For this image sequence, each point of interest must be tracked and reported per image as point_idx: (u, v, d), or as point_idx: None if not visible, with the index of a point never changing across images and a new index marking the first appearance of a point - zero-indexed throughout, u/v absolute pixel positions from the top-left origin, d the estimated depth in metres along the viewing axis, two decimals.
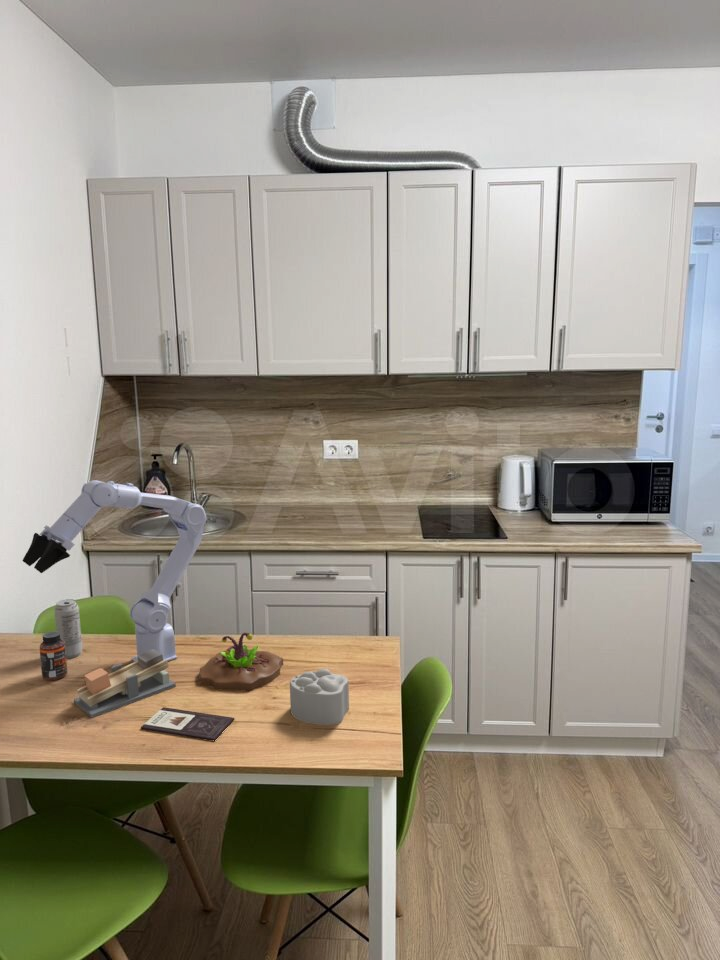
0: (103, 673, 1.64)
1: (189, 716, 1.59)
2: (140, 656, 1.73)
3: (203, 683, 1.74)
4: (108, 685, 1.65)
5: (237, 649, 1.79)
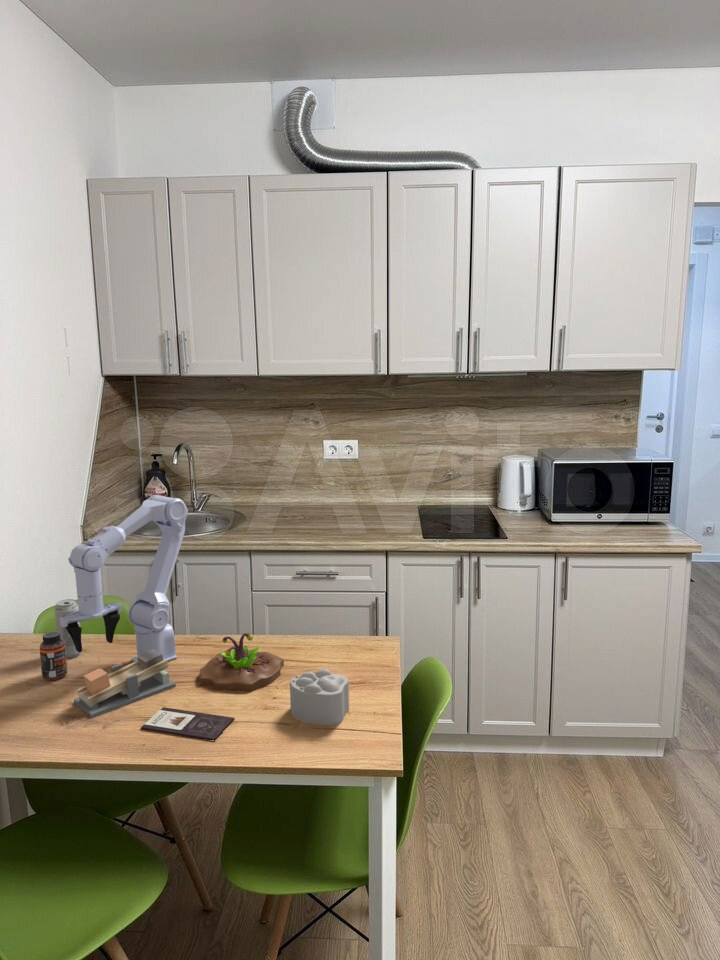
0: (102, 673, 1.64)
1: (189, 716, 1.59)
2: (140, 656, 1.73)
3: (203, 684, 1.74)
4: (107, 685, 1.65)
5: (237, 650, 1.78)
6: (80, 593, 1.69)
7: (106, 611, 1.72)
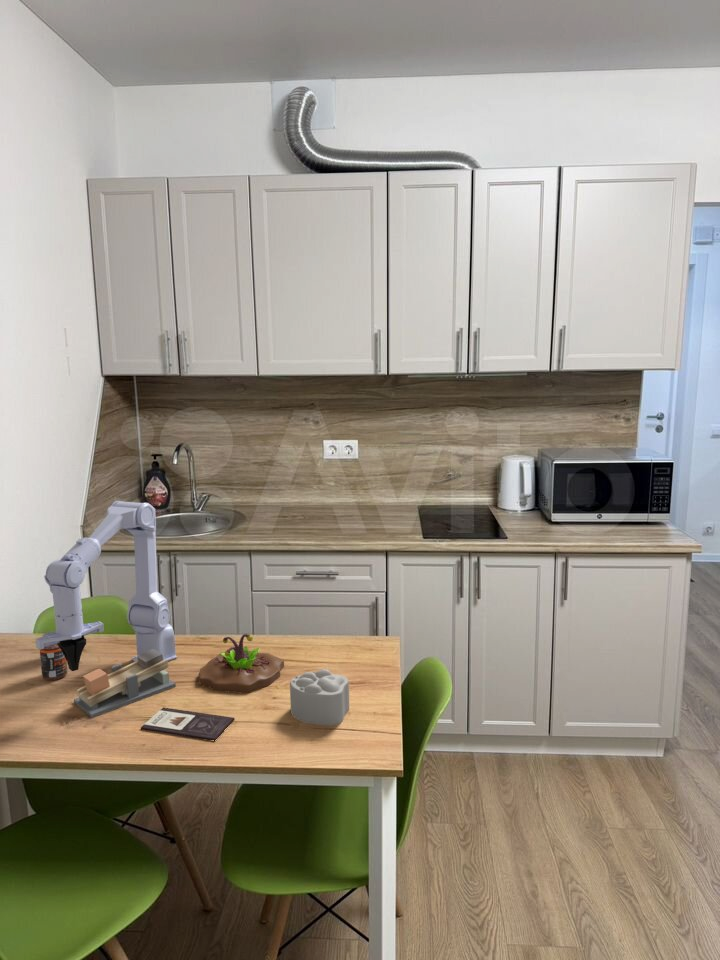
0: (102, 674, 1.64)
1: (189, 716, 1.58)
2: (140, 656, 1.73)
3: (202, 684, 1.74)
4: (107, 686, 1.64)
5: (237, 650, 1.78)
6: (60, 613, 1.56)
7: (86, 631, 1.60)
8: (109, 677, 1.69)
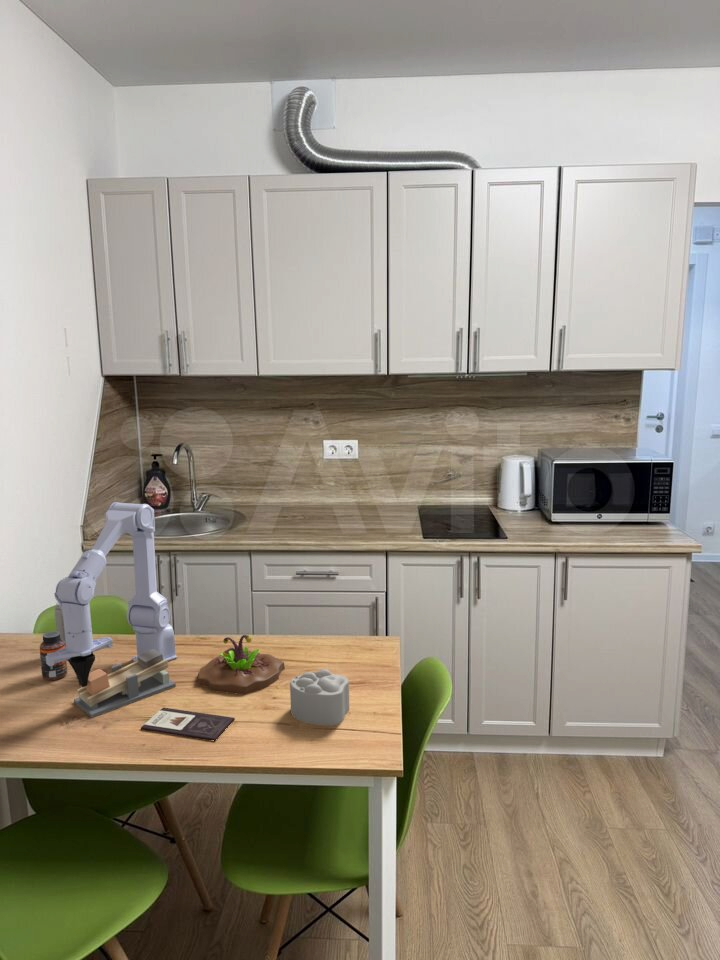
0: (102, 674, 1.64)
1: (189, 716, 1.58)
2: (140, 656, 1.73)
3: (200, 684, 1.74)
4: (107, 686, 1.64)
5: (236, 651, 1.77)
6: (71, 629, 1.57)
7: (95, 648, 1.61)
8: (109, 677, 1.69)
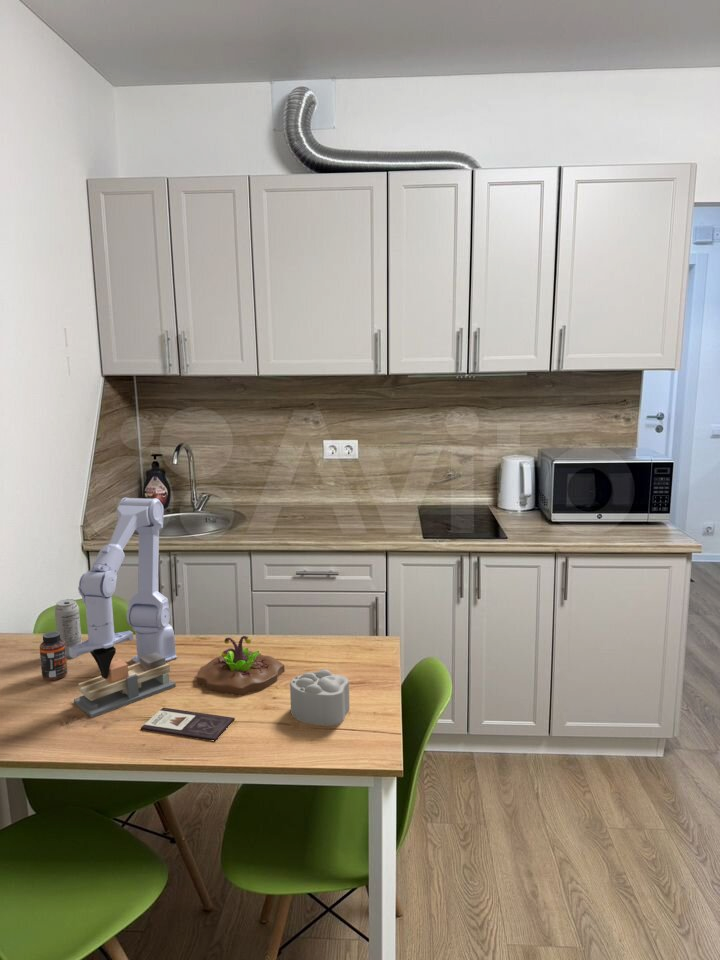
0: (123, 664, 1.67)
1: (189, 716, 1.58)
2: (143, 658, 1.74)
3: (199, 683, 1.74)
4: None
5: (236, 652, 1.77)
6: (95, 622, 1.60)
7: (117, 640, 1.64)
8: None
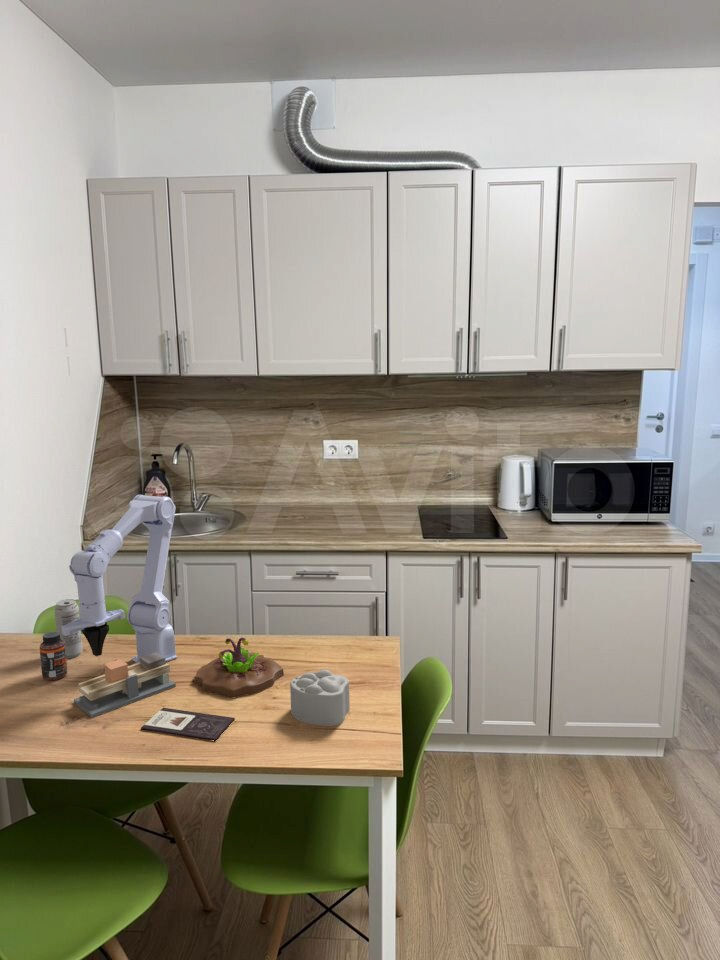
0: (123, 664, 1.67)
1: (189, 716, 1.58)
2: (143, 658, 1.74)
3: (196, 682, 1.75)
4: (126, 676, 1.67)
5: (234, 653, 1.76)
6: (84, 601, 1.64)
7: (109, 618, 1.68)
8: None
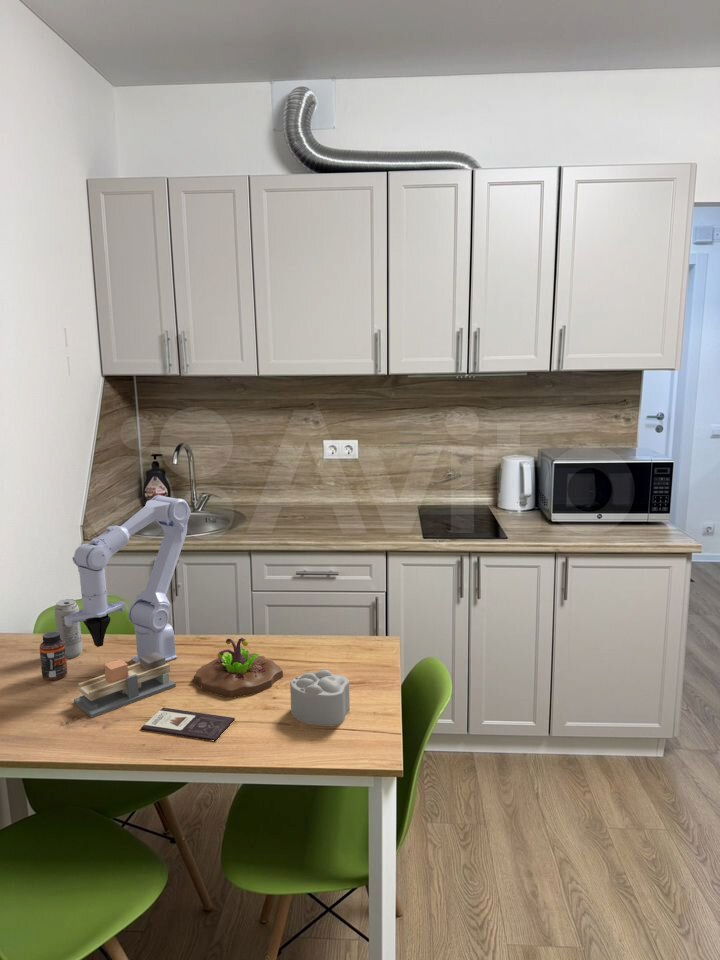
0: (123, 664, 1.67)
1: (189, 716, 1.58)
2: (143, 658, 1.74)
3: (195, 682, 1.75)
4: (126, 676, 1.67)
5: (233, 653, 1.76)
6: (84, 592, 1.69)
7: (110, 610, 1.73)
8: None
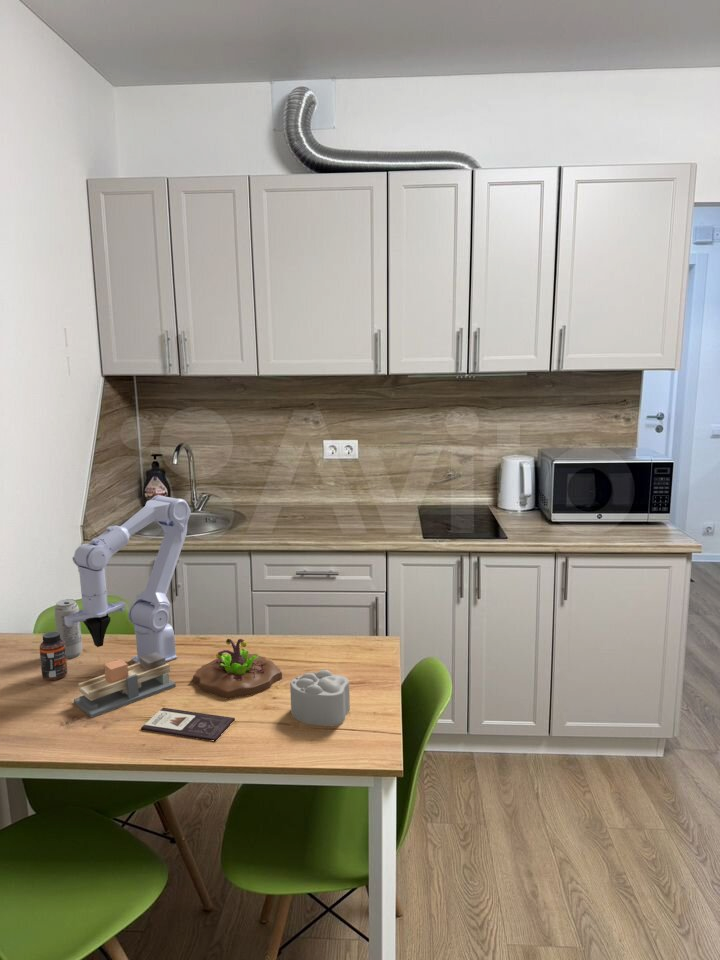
0: (123, 664, 1.67)
1: (189, 716, 1.58)
2: (143, 658, 1.74)
3: (194, 681, 1.75)
4: (126, 676, 1.67)
5: (232, 654, 1.76)
6: (84, 592, 1.69)
7: (110, 610, 1.73)
8: None
